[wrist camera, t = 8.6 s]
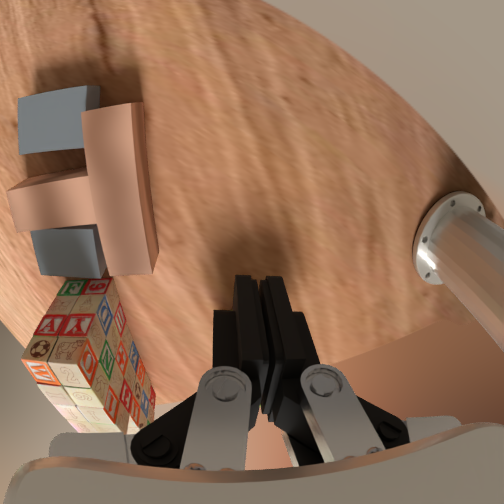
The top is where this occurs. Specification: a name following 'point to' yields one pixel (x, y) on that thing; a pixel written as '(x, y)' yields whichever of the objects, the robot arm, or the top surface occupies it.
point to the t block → (100, 191)
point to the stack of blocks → (91, 361)
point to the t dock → (50, 139)
